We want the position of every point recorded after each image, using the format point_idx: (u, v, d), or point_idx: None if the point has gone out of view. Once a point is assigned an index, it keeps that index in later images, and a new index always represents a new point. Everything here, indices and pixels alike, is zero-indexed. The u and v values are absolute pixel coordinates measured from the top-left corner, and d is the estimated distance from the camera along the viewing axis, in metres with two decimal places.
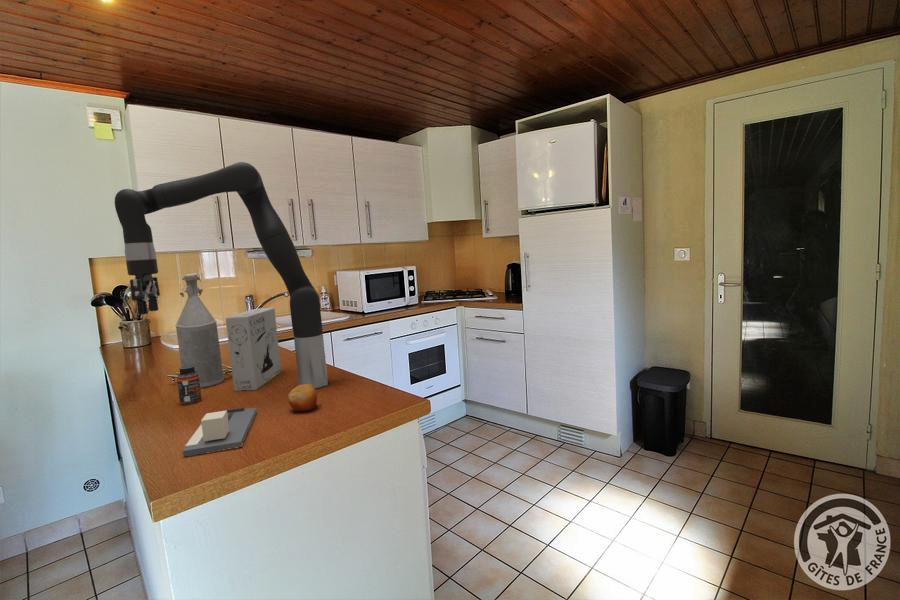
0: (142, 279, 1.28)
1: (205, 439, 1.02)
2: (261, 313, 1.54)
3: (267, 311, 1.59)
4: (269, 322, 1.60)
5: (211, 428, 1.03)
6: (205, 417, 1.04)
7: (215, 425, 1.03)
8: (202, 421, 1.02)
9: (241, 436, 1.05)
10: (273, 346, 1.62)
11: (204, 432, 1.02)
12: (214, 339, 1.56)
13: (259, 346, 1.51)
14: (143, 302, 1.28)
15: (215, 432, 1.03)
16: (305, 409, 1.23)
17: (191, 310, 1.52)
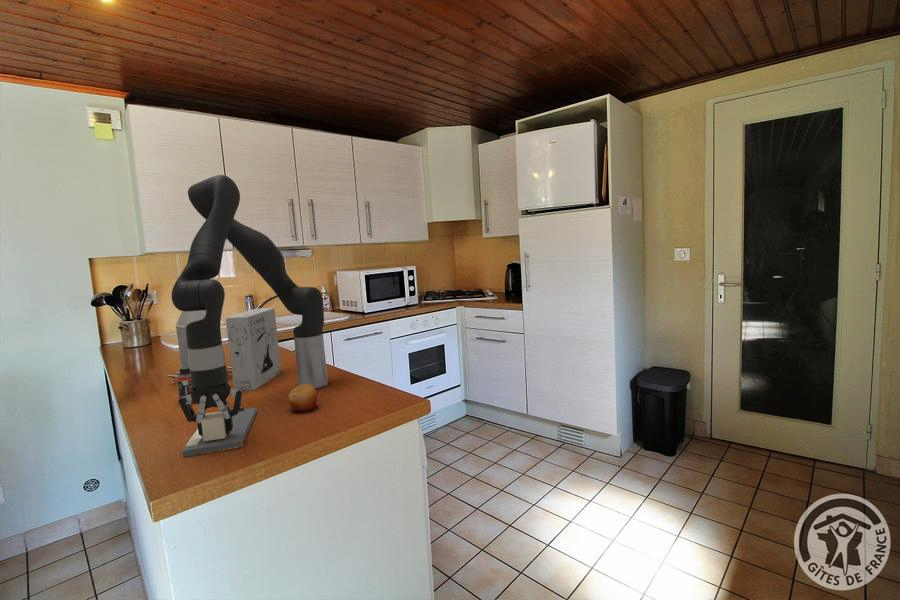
0: None
1: (205, 439, 1.02)
2: (261, 313, 1.54)
3: (267, 311, 1.59)
4: (269, 322, 1.60)
5: (211, 428, 1.03)
6: (205, 417, 1.04)
7: (215, 425, 1.03)
8: (202, 421, 1.02)
9: (241, 436, 1.05)
10: (273, 346, 1.62)
11: (204, 432, 1.02)
12: None
13: (259, 346, 1.51)
14: None
15: (215, 432, 1.03)
16: (305, 409, 1.23)
17: None
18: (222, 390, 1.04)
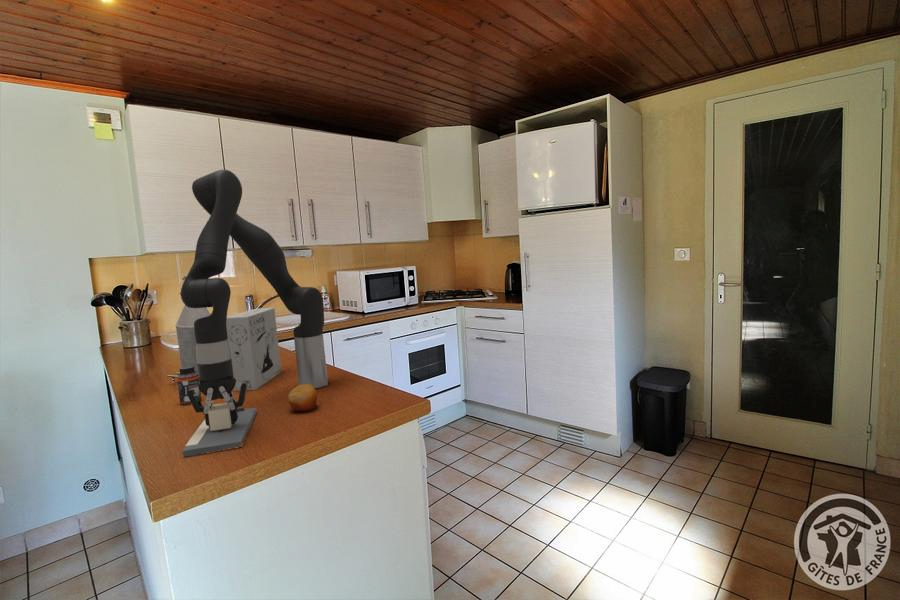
0: None
1: (212, 429, 1.08)
2: (261, 313, 1.54)
3: (267, 311, 1.59)
4: (269, 322, 1.60)
5: (217, 419, 1.09)
6: (212, 408, 1.10)
7: (221, 416, 1.09)
8: (209, 412, 1.08)
9: (241, 436, 1.05)
10: (273, 346, 1.62)
11: (211, 422, 1.08)
12: None
13: (259, 346, 1.51)
14: None
15: (221, 422, 1.09)
16: (305, 409, 1.23)
17: (191, 310, 1.52)
18: (228, 383, 1.10)
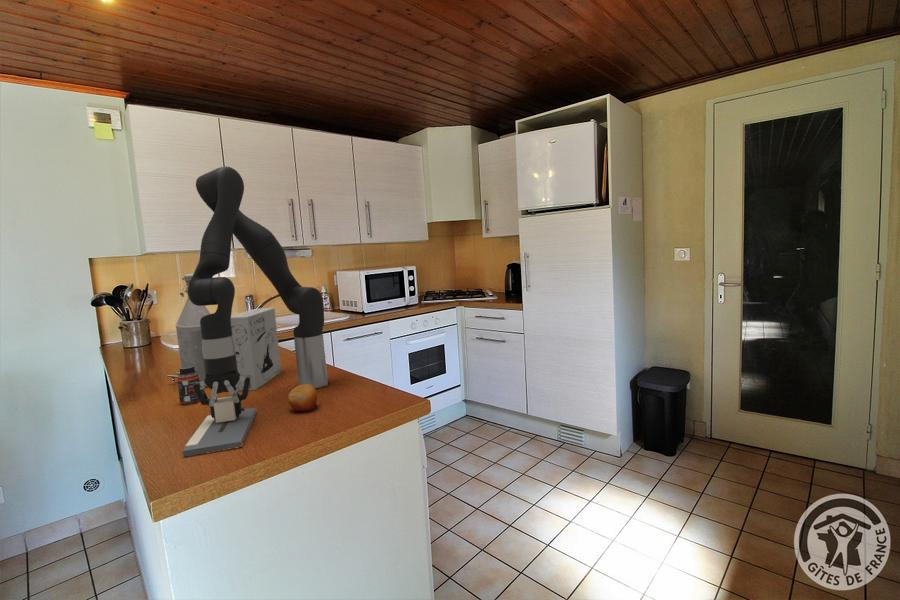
0: None
1: (217, 421, 1.14)
2: (261, 313, 1.54)
3: (267, 311, 1.59)
4: (269, 322, 1.60)
5: (222, 411, 1.14)
6: (217, 401, 1.15)
7: (226, 408, 1.14)
8: (214, 404, 1.13)
9: (241, 436, 1.05)
10: (273, 346, 1.62)
11: (216, 414, 1.14)
12: None
13: (259, 346, 1.51)
14: None
15: (226, 414, 1.14)
16: (305, 409, 1.23)
17: (191, 310, 1.52)
18: (232, 377, 1.15)
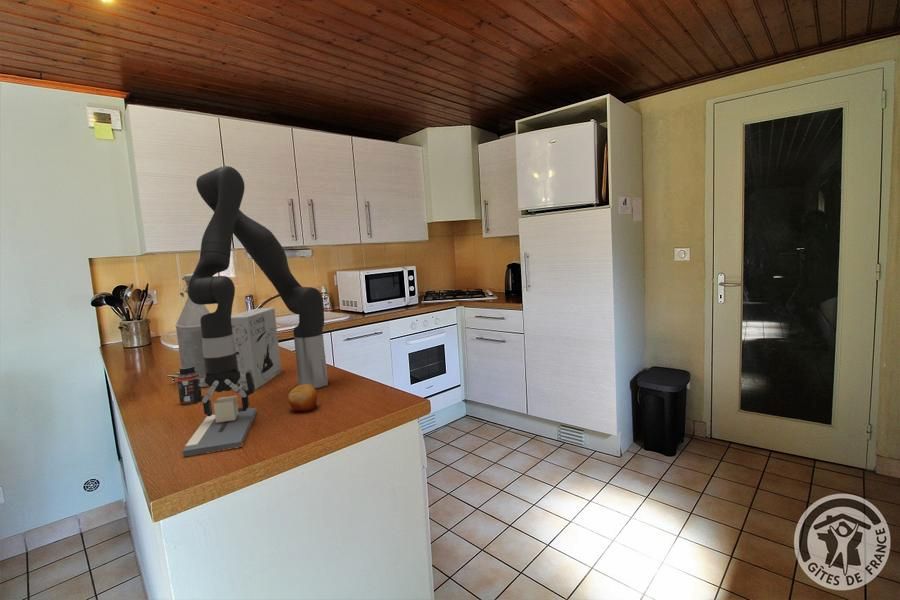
0: None
1: (217, 421, 1.14)
2: (261, 313, 1.54)
3: (267, 311, 1.59)
4: (269, 322, 1.60)
5: (222, 411, 1.14)
6: (217, 401, 1.15)
7: (226, 408, 1.14)
8: (214, 404, 1.13)
9: (241, 436, 1.05)
10: (273, 346, 1.62)
11: (216, 414, 1.14)
12: None
13: (259, 346, 1.51)
14: None
15: (226, 414, 1.14)
16: (305, 409, 1.23)
17: (191, 310, 1.52)
18: (232, 376, 1.15)
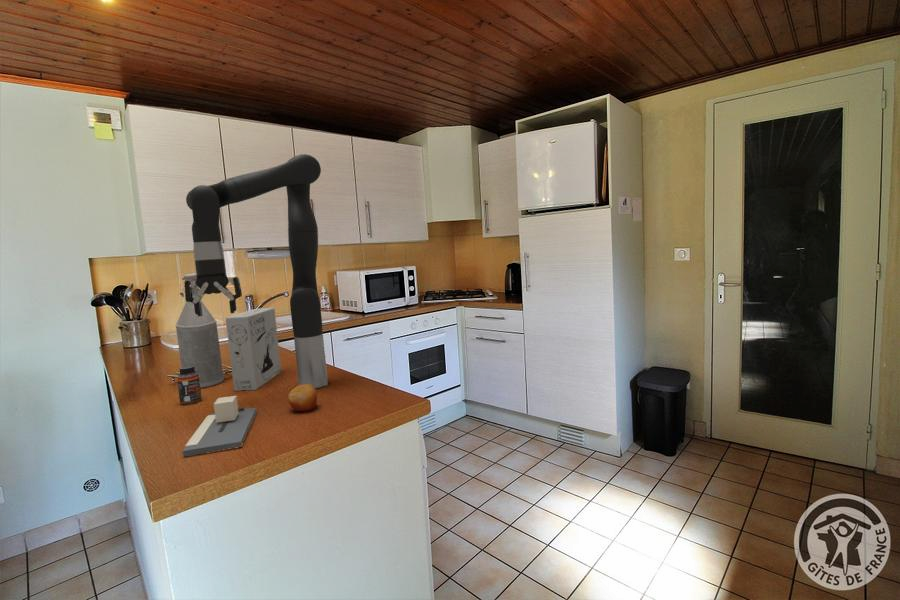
0: None
1: (217, 421, 1.14)
2: (261, 313, 1.54)
3: (267, 311, 1.59)
4: (269, 322, 1.60)
5: (222, 411, 1.14)
6: (217, 401, 1.15)
7: (226, 408, 1.14)
8: (214, 404, 1.13)
9: (241, 436, 1.05)
10: (273, 346, 1.62)
11: (216, 414, 1.14)
12: (214, 339, 1.56)
13: (259, 346, 1.51)
14: None
15: (226, 414, 1.14)
16: (305, 409, 1.23)
17: (191, 310, 1.52)
18: (221, 280, 1.26)
